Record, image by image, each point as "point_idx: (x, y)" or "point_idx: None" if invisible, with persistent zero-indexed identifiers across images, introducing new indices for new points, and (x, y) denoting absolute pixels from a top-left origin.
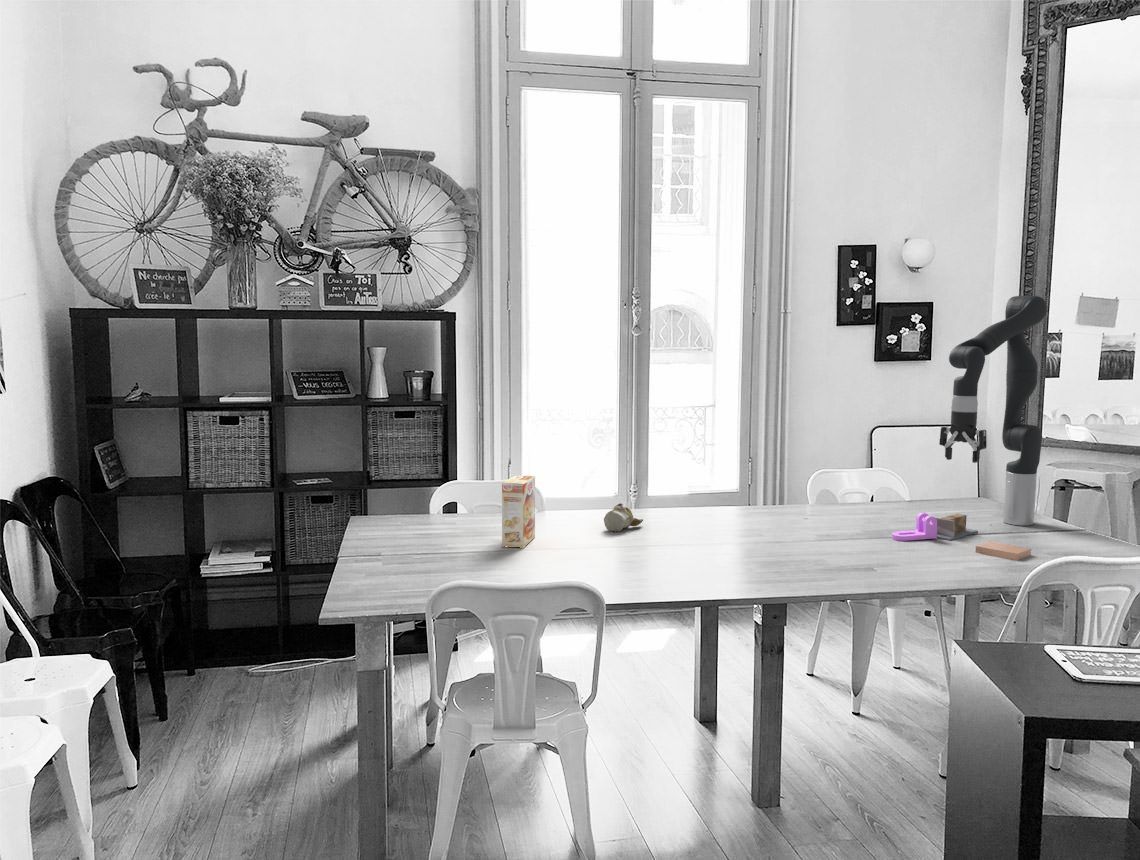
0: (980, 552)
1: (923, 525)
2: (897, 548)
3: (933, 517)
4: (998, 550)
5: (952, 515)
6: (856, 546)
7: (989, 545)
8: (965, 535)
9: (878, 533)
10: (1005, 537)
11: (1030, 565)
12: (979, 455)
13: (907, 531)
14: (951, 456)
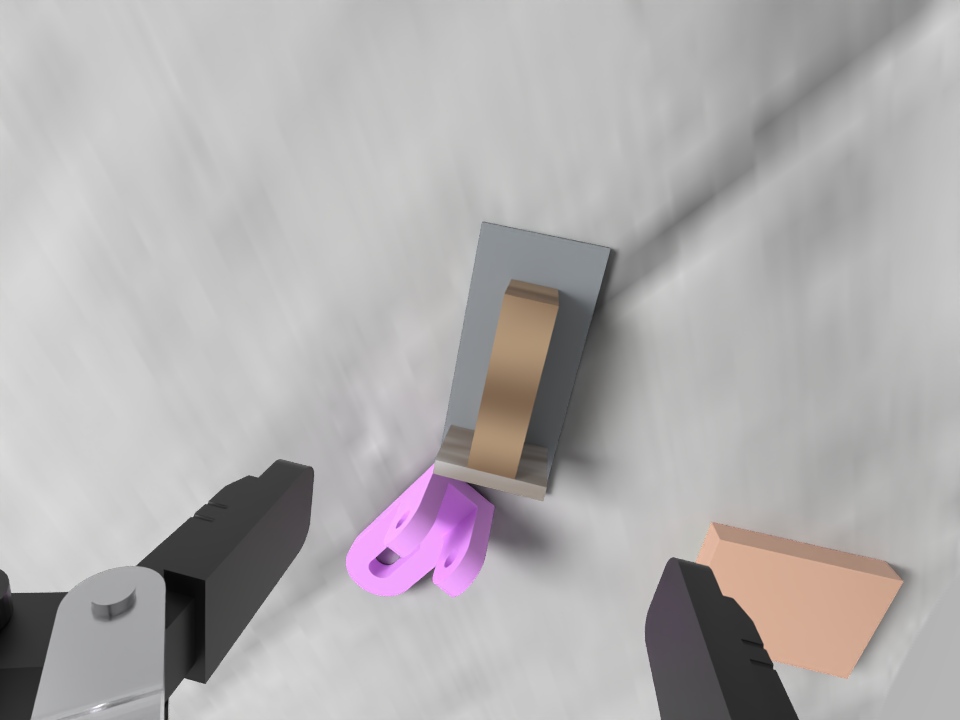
0: None
1: (438, 560)
2: (433, 679)
3: (469, 583)
4: (770, 658)
5: (496, 363)
6: (327, 707)
7: None
8: (577, 369)
9: None
10: (754, 281)
11: (883, 700)
12: (776, 681)
13: (382, 529)
14: (294, 491)
